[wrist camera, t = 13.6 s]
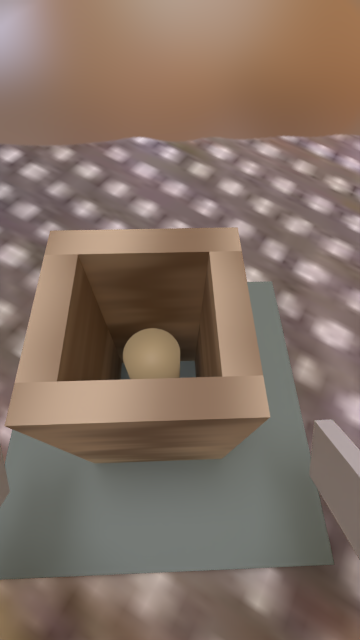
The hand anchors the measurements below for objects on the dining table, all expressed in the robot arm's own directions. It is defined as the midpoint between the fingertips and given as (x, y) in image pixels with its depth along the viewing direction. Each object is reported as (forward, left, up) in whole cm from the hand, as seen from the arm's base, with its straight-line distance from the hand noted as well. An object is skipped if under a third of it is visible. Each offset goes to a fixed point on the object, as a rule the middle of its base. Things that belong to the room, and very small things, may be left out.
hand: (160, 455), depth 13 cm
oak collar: (0, +4, -6) cm, 7 cm away
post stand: (0, +4, -7) cm, 8 cm away
